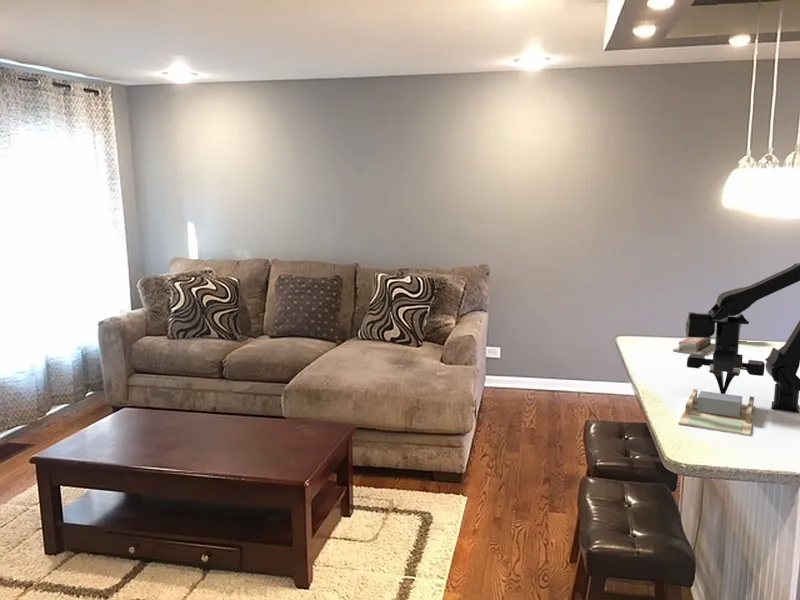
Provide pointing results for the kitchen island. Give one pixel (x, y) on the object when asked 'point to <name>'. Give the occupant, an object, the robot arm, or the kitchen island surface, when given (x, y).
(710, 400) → the slate block
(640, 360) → the kitchen island surface
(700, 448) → the kitchen island surface
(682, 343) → the packaged product
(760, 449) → the kitchen island surface
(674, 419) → the kitchen island surface
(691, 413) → the beige wooden tray
